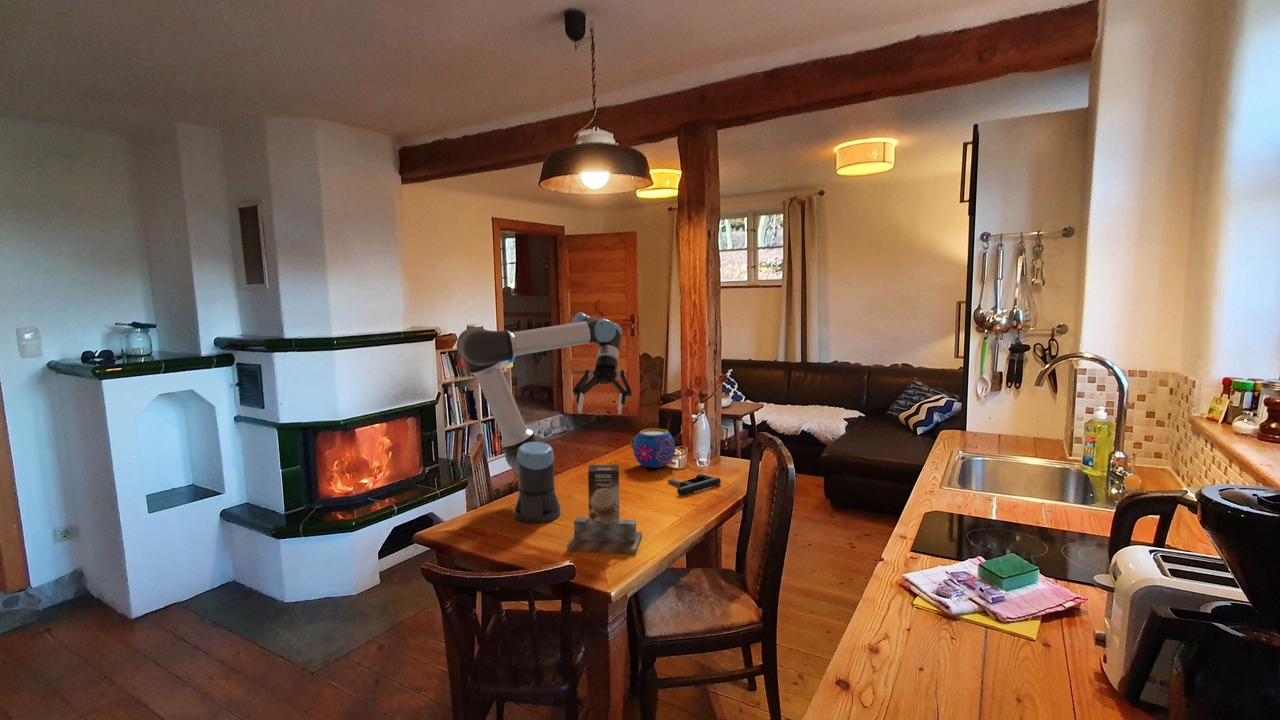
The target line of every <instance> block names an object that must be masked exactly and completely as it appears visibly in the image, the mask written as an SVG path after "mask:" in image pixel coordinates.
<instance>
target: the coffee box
mask: <svg viewBox="0 0 1280 720" xmlns="http://www.w3.org/2000/svg"><path fill="white" fill-rule="evenodd" d="M587 472H588V473H587V476H588V478H587V479H588V483H587V484H588V487H587V488H588V518H589V524H619V519H620V465H619V464H588V471H587Z"/></svg>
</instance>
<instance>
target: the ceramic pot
mask: <svg viewBox="0 0 1280 720" xmlns="http://www.w3.org/2000/svg"><path fill="white" fill-rule="evenodd" d="M630 446H631V448H632V451H633V454H634V457H635V459H636V461H637V463H638V464H640V465H641V466H643V467H646V468H649V469H659V468H664V467H665V466H667V465H669V464H670V463H672V461H673V459H674V456H675V454H676V443H675V440H674V438H673V436H672V434H671V432H669V431H668V430H667V429H663V428H656V427H655V428H646V429H642V430H640V431H638V433H637V435H636V436H635V437H633V438H632V439H631V441H630ZM674 453H675V454H674Z"/></svg>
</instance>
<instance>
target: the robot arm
mask: <svg viewBox="0 0 1280 720" xmlns="http://www.w3.org/2000/svg"><path fill="white" fill-rule="evenodd" d="M622 332H623V330H622V327H621V326H620V325H619V324H617V323H615V322H614V323H613V321H611V320H610V319H609V320H608V319H607V318H599V317H591V316H589V315H588V314H585V313H583V312H577V313H576V314H575V315H574V316H573V318H572V320H571V322H570V323H565V324H564V323H563V324H559V325H552V326H546V327H545V326H544V327H539V328H533V329H526V330H520V331H519V330H518V331H513V332H511V331H509V330H508V329H506V330H505V329H503V330H488V329H486V328H483V327H481V326H478V327H477V326H475V327H474V326H473V327H470V328H466V329H465V330H464V331H462V332H461V333H460V335H459V336H458V338H457V340H456V350H457V353H458V355H459V356H460V357H461V358H462V360H463V363H464V365H465V367H466V369H467V371H468V373H469V374H470V375H472V376H475V378H476V380H477V382H478V384H479V387H480V389H481V391H482V394H483V396H484V398H485V400H486V403H487V404H488V406H489V409H490V411H491V413H492V416H493V419H494V421H495V423H496V425H497V427H498V429H499V431H500V432H499V433H500V434H501V436H502V440H501V443H500V445H501V447H502V449H503V452H504V457H505V461H506V462H507V464H508V466H509V467H510V468H512V469H513V471H514V472H515V473H516V474H517V476H518V478H517V479H518V480H517V481H518V496H517V498H516V499H517V500H516V503H515V507H514V519H515V520H517V521H518V522H520V523H525V524H542V523H547V522H551V521H554V520H556V519H557V518H559V517H560V515H561V514H562V513H561V512H562V511H561V504H560V502H559V499H558V497H557V494H556V490H555V467H554V466H555V464H554V463H555V461H554V460H555V455H554V450H553V447H552V446H551V445H550V444H548V443H546V442H542V441H538V440H537V438H536V435H535V433H534V430H533V429H531V428H528V427H527V426H526V423H525V422H524V419H523V417H522V414H521V411H520V409H519V407H518V404H517V402H516V399H515V398H514V396H513V393H512V390H511V388H510V386H509V383H508V381H507V379H506V377H505V375H504V372H503V369H502V368H501V364H502V363H503V362H506V361H513V360H514V358H515V357H516V356H517V357H518V356H522V355H529V354H533V353H540V352H546V351H551V350H552V351H553V350H556V349H563V348H569V347H573V346H579V345H584V344H591V343H592V344H593V343H594V344H596V345H598V350H597V356H596V362H595V367H594V370H593V371H590V369H586V370H585V372H584V375H583V376H582V377H581V378H580V380H579V381H578V382H577V384H575V386H574V387H573V389H572V392H573V395H574V396H576V400H575V401H576V404H577V411H578V414H582V410H583V405H584V399H585V396H584V395H585V394H587V393H588V392H589V391H590V390H591V389H593V387H595V386H597V385H598V384H600V385H603V384H606V385H609V384H611V385H612V386H613V387H614V388H615V389H616V391H618V392H619V398H618V404H617V412H618V413H617V414H618V415H621V414H622V410H623V405H626V400H627V397H628V396H629V397H632V395H633V393H632V389H631V387H630V385H629V382H628V380H627V378H626V375H625V374H626V373H625V370H623V369H622V370H620V371H617V369H618V363H619V356H620V350H621V349H620V348H621V343H622V336H623V333H622ZM617 377H619V379H621V382H622V384H623V386H624V388H625V389H624V388H623V386H622V385H621V384H620V383H619V382H618V380H616V378H617Z"/></svg>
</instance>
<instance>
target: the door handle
mask: <svg viewBox="0 0 1280 720" xmlns="http://www.w3.org/2000/svg"><path fill="white" fill-rule="evenodd" d="M721 482H722V481H721V478H720V477H718V476H716V477H713V476H709V475H707V474H703V473H698V474H697V475H696V476H695V477H694V478H691V479H687V480H684V481H681V480H678V479H674V478H668V480H667V483H668V484H670V485H673V486H675V487H678V488H677V490H676V491H677V494H678V496H685V495H688V494H696V493H701V492H703V491H707V490H710V489H712V488H714V487H716V486H720V485H721Z"/></svg>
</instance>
